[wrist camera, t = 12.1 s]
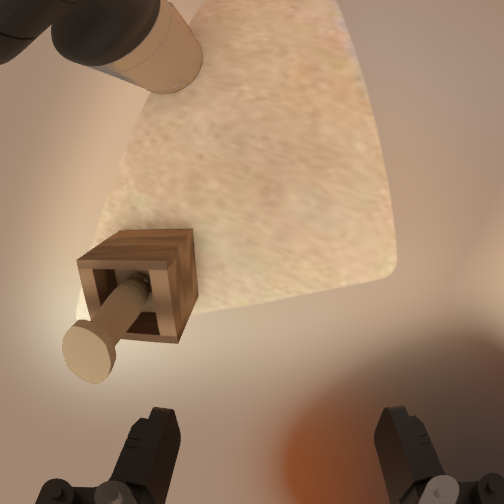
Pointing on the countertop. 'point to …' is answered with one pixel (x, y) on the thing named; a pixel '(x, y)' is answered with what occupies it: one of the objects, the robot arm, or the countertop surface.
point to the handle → (105, 330)
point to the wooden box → (148, 264)
